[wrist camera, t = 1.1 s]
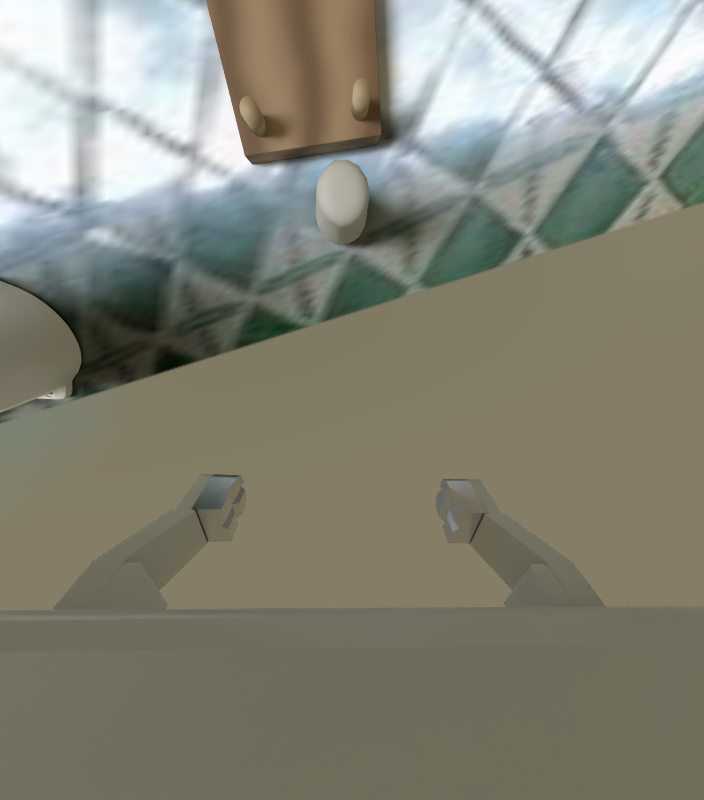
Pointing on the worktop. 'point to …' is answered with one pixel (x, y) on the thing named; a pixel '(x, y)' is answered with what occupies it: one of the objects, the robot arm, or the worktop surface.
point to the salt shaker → (342, 202)
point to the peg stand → (300, 74)
